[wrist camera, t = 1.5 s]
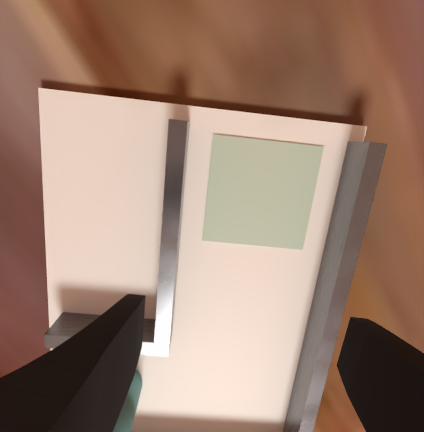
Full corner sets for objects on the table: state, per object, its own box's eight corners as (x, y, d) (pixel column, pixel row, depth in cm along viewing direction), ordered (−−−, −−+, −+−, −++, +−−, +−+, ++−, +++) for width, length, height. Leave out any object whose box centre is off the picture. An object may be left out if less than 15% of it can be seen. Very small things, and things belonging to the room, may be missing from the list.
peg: (91, 400, 23) (61, 470, 18) (90, 359, 22) (59, 422, 17) (141, 404, 23) (124, 473, 19) (143, 363, 22) (126, 425, 18)
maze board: (57, 439, 25) (54, 447, 24) (43, 89, 17) (37, 87, 17) (286, 452, 26) (288, 459, 25) (362, 126, 19) (368, 126, 18)
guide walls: (66, 437, 24) (51, 470, 22) (56, 107, 17) (32, 103, 15) (290, 449, 25) (299, 483, 23) (363, 142, 18) (387, 143, 16)
